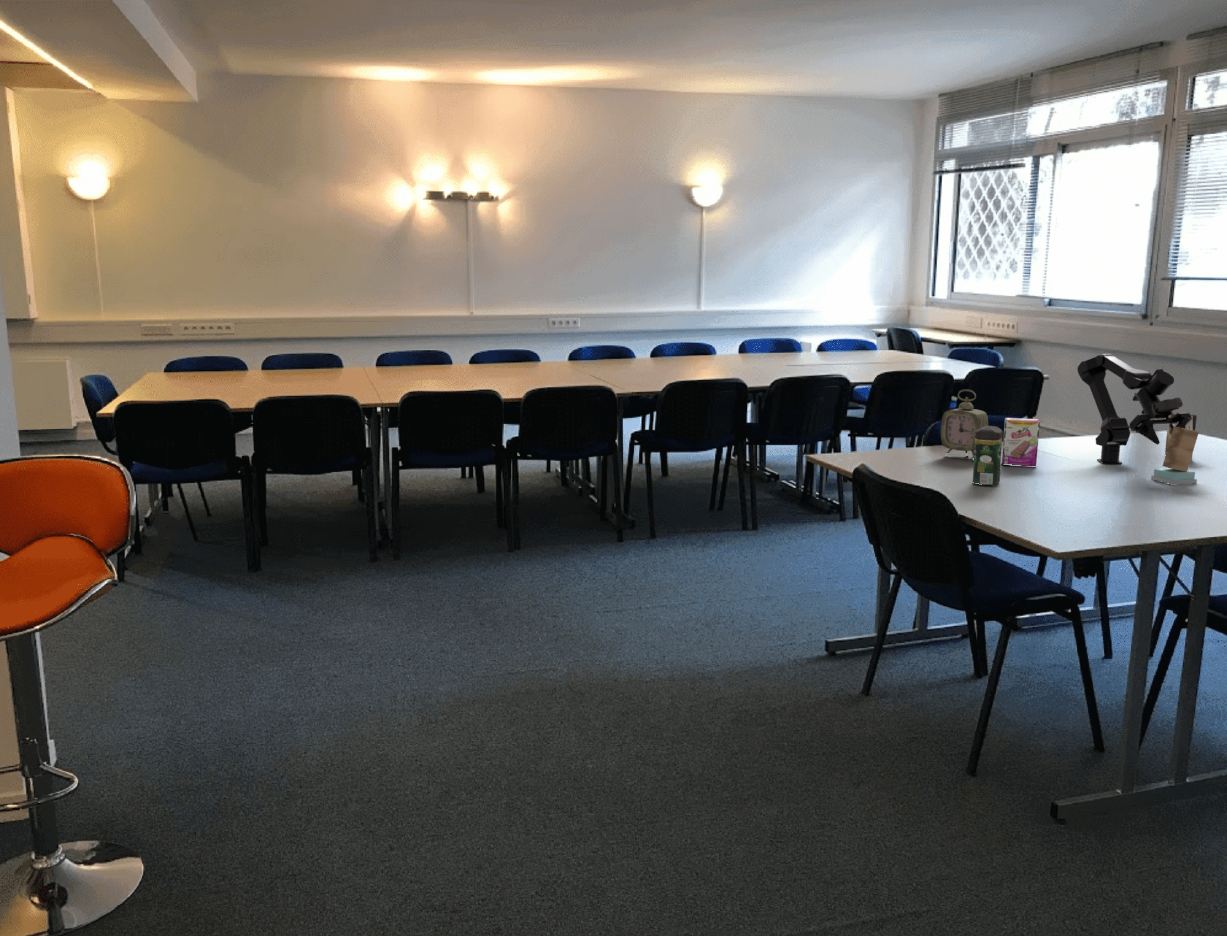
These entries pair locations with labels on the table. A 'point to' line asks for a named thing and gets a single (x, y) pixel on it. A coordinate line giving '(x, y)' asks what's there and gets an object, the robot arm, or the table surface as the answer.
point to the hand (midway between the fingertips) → (1171, 443)
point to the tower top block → (1174, 474)
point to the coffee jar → (987, 455)
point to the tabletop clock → (962, 426)
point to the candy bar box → (1020, 441)
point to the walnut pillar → (1180, 449)
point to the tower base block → (1174, 480)
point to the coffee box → (1190, 426)
